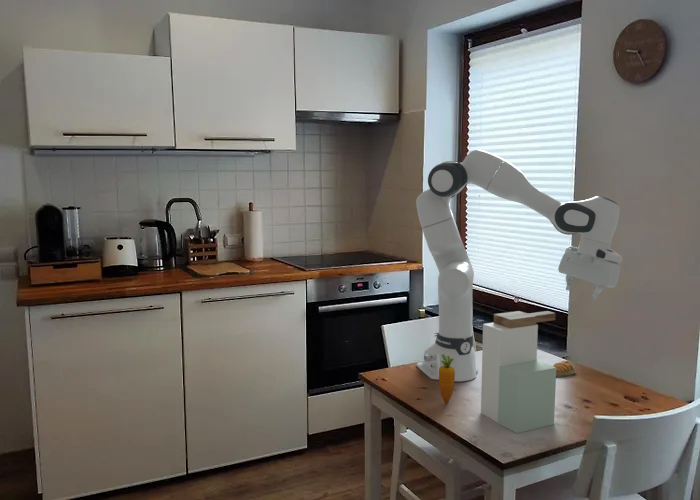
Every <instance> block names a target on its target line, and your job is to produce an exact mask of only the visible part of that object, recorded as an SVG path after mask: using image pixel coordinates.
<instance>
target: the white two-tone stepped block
mask: <svg viewBox="0 0 700 500" xmlns="http://www.w3.org/2000/svg"><path fill="white" fill-rule="evenodd" d="M538 330H539V325H538V324H537V323H536V325H532V326H525V327H518V328H511V329H510V328H507V327H504V326H501V325H498V324H496V323H494V322H488V323H483V324H482V356H481V386H480V387H481V389H480V390H481V392H480V395H481V396H480V414H481V415H484V416H486V417H487V418H489V419H490V420H493V421H494V422H496V423H498V424H499V425H502V426H503V427H504V428H506V429H508V430H510V431H512V432H513V433H515V434H520V433H524V432H528V431H533V430H535V429H536V430H537V429H541V428H544V427H549V426H553V425H555V408H556V405H555V404H556V384H557V376H556V367H554V366H553V365H551V364H549V363H546V362H544V361H541V360H539V359H538V360H537V358H538V337H539V336H538V335H539V334H538V332H539V331H538Z"/></svg>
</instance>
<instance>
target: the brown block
mask: <svg viewBox="0 0 700 500" xmlns="http://www.w3.org/2000/svg"><path fill="white" fill-rule="evenodd" d="M555 320H556V312H553V311H549V310H545V311H536V312H531V313H529V312H528V313H527V312H524V311H520V310H517V311H516V310H515V311H507V312H501V313H494V314H493V323H496V324H498V325H501V326H504V327H507V328H510V329H511V328H518V327H525V326H532V325H536V324H537V323H543V322H544V323H545V322H549V321H555Z"/></svg>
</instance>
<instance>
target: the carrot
mask: <svg viewBox="0 0 700 500" xmlns="http://www.w3.org/2000/svg"><path fill="white" fill-rule="evenodd" d="M442 357H443V359H444V360H443V361H442V360H441V362H442V363H443V364H444V365H445V366H441V367H440V368H439V380H438V381H439V382H438V384H439V391H440V395H441V399H442V401H443V403H444V404H445V405H447V404H448V403H449V402H450V400H451V398H452V395H453V392H454V387H455V381H454V380H455V370H454V368H453V367H451V366H450V364H451V362H452V361H453V358H451V359H450V356H447V358H448V362H447V359H446V356H445V354H442ZM444 362H445V363H444Z"/></svg>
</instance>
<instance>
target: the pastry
mask: <svg viewBox="0 0 700 500" xmlns="http://www.w3.org/2000/svg"><path fill="white" fill-rule="evenodd" d="M552 366H554V367H556V377H558V378H559V377H568V376H571V375H574V374H575V373H576V368H575V366H574V365H573V363H572V362H571V361H568V360H562V361H559V362H556V363H554V364H553V365H552Z"/></svg>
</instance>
